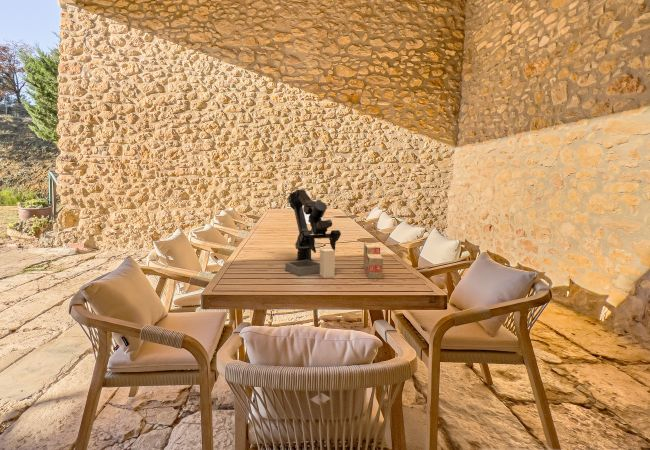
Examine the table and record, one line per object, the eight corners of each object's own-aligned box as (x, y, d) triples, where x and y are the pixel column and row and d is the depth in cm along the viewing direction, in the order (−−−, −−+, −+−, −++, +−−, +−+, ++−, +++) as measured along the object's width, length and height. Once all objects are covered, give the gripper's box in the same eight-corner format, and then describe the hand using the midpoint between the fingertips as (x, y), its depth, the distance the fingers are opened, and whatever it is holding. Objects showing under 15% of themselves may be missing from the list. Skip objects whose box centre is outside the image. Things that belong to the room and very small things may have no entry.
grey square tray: (307, 266, 184) (307, 259, 183) (322, 272, 174) (322, 264, 173) (285, 270, 176) (285, 262, 176) (300, 276, 166) (300, 268, 166)
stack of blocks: (382, 278, 165) (383, 251, 163) (368, 278, 165) (369, 251, 163) (375, 266, 186) (376, 242, 184) (363, 266, 186) (363, 242, 184)
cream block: (319, 275, 169) (320, 248, 167) (329, 274, 171) (330, 248, 169) (323, 278, 164) (324, 251, 163) (334, 276, 166) (334, 250, 165)
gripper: (301, 214, 168) (309, 242, 159) (339, 213, 175) (349, 240, 166) (296, 228, 176) (303, 256, 168) (332, 227, 183) (341, 254, 175)
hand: (325, 251), depth 169 cm, fingers open, 9 cm apart
